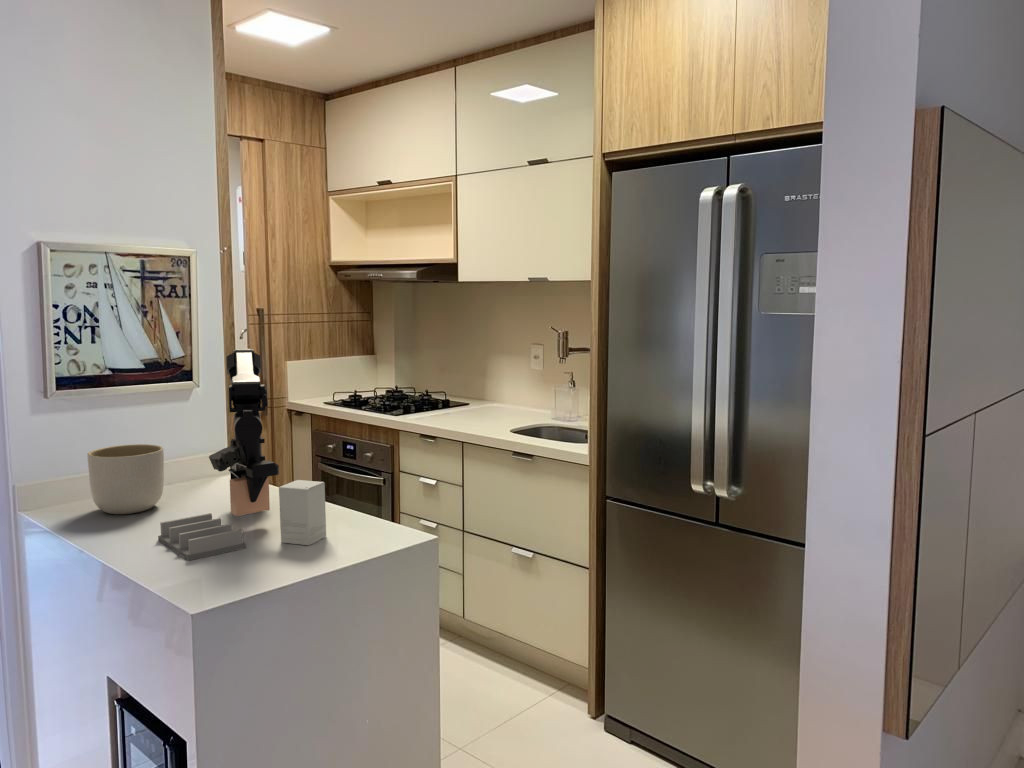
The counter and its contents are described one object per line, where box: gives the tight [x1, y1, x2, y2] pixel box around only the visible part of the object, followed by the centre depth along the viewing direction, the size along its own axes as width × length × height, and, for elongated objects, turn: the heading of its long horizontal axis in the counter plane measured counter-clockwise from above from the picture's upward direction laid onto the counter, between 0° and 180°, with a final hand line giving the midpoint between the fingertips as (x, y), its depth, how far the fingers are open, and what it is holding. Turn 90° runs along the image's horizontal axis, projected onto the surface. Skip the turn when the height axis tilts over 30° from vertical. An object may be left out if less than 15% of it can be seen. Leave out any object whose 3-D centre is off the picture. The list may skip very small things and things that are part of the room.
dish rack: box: [157, 513, 246, 561], centre depth 165 cm, size 12×18×4 cm, turn 43°
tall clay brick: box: [229, 476, 271, 517], centre depth 176 cm, size 8×3×8 cm, turn 133°
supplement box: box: [278, 479, 327, 546], centre depth 168 cm, size 7×7×13 cm
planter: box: [87, 443, 165, 515], centre depth 191 cm, size 17×17×15 cm
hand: (250, 500), depth 176 cm, fingers closed on tall clay brick, 3 cm apart
